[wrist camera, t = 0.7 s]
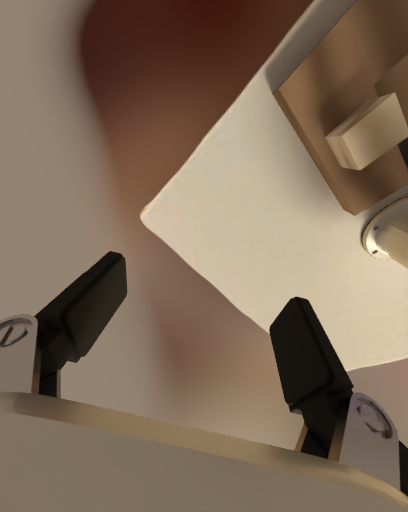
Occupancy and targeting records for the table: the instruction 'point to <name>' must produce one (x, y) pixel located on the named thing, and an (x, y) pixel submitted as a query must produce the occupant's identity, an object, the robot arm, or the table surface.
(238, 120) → the table surface
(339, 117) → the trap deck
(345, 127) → the maple block
